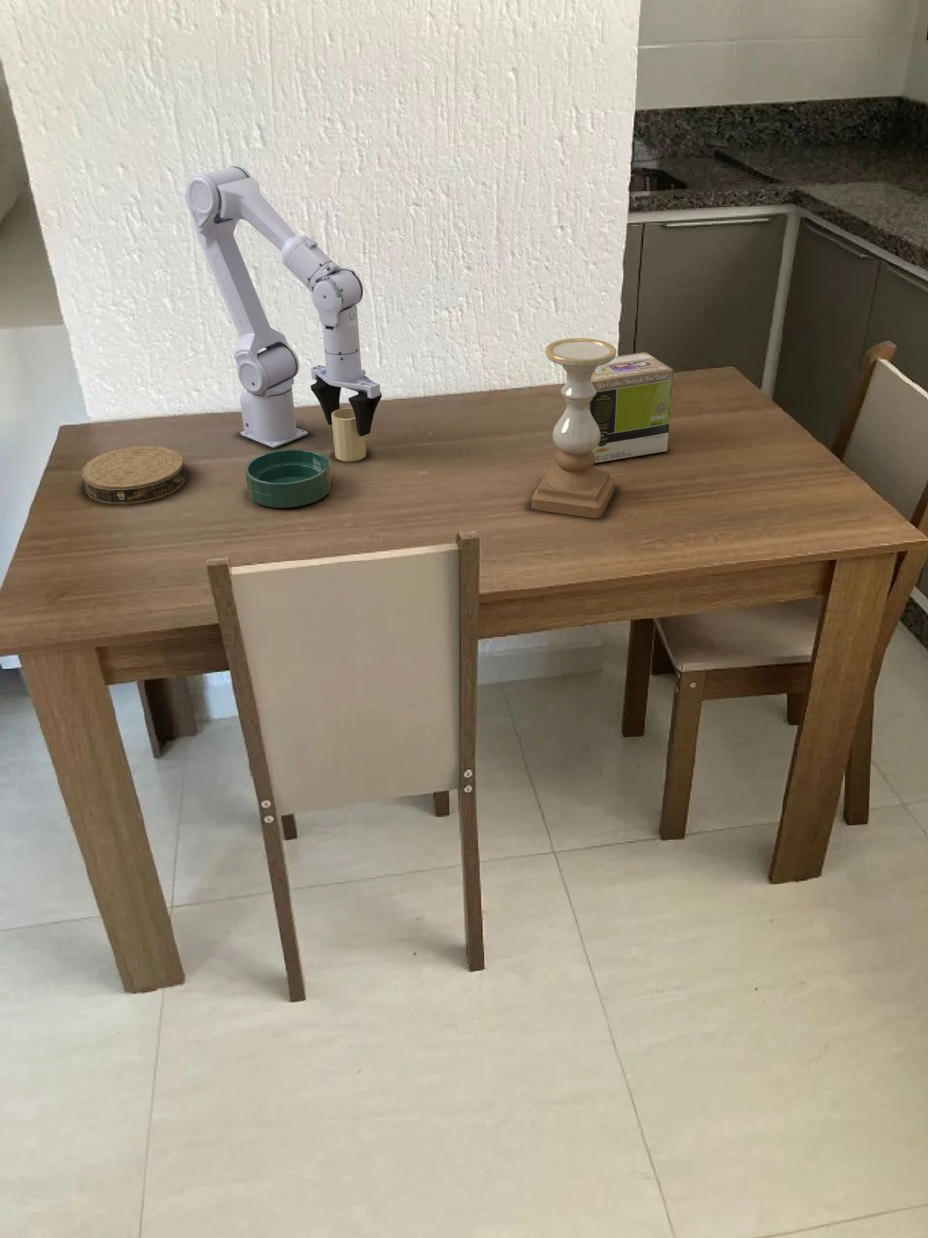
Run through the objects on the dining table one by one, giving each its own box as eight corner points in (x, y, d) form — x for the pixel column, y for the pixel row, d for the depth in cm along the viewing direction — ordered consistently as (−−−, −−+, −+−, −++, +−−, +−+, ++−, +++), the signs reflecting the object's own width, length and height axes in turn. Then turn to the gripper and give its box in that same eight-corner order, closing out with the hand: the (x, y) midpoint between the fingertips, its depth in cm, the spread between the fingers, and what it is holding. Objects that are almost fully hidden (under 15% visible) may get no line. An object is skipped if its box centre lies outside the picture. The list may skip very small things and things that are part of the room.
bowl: (232, 494, 162) (228, 468, 160) (294, 467, 170) (291, 442, 168) (285, 518, 155) (281, 491, 153) (347, 489, 163) (345, 463, 161)
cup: (328, 455, 174) (324, 414, 170) (351, 446, 178) (348, 405, 173) (350, 464, 171) (346, 422, 167) (372, 454, 175) (369, 412, 170)
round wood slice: (96, 464, 172) (92, 448, 171) (191, 459, 174) (188, 443, 172) (75, 507, 159) (71, 490, 158) (179, 501, 160) (176, 484, 159)
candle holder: (615, 488, 162) (626, 340, 149) (599, 519, 153) (610, 364, 140) (548, 479, 165) (553, 333, 152) (529, 509, 157) (533, 357, 143)
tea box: (641, 431, 181) (648, 349, 173) (667, 453, 173) (676, 368, 165) (562, 443, 177) (566, 360, 169) (586, 466, 169) (591, 380, 161)
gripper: (391, 352, 163) (396, 431, 170) (330, 334, 171) (337, 411, 178) (359, 363, 158) (365, 445, 166) (298, 344, 166) (306, 423, 174)
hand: (348, 428), depth 172 cm, fingers open, 7 cm apart
